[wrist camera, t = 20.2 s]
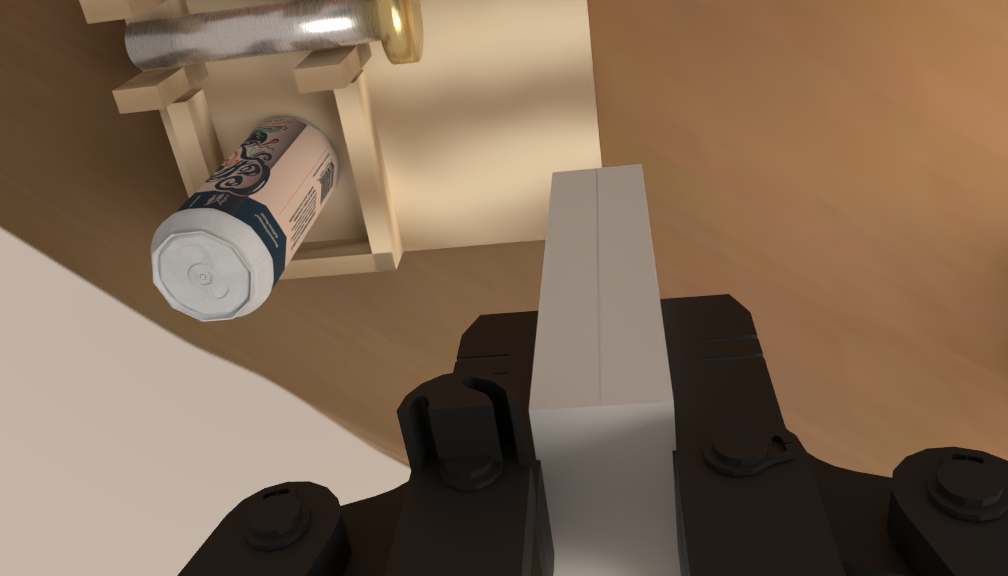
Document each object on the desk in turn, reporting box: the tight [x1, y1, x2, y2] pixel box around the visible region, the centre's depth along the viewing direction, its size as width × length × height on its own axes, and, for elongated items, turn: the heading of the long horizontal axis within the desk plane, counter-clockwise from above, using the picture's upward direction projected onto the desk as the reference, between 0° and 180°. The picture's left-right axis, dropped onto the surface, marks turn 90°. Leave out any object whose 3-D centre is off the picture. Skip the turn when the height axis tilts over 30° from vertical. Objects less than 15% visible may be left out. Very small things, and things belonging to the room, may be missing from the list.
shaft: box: [125, 0, 423, 70], centre depth 36 cm, size 4×12×4 cm, turn 98°
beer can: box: [151, 117, 340, 322], centre depth 38 cm, size 5×5×12 cm
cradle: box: [79, 0, 602, 280], centre depth 39 cm, size 16×21×6 cm
